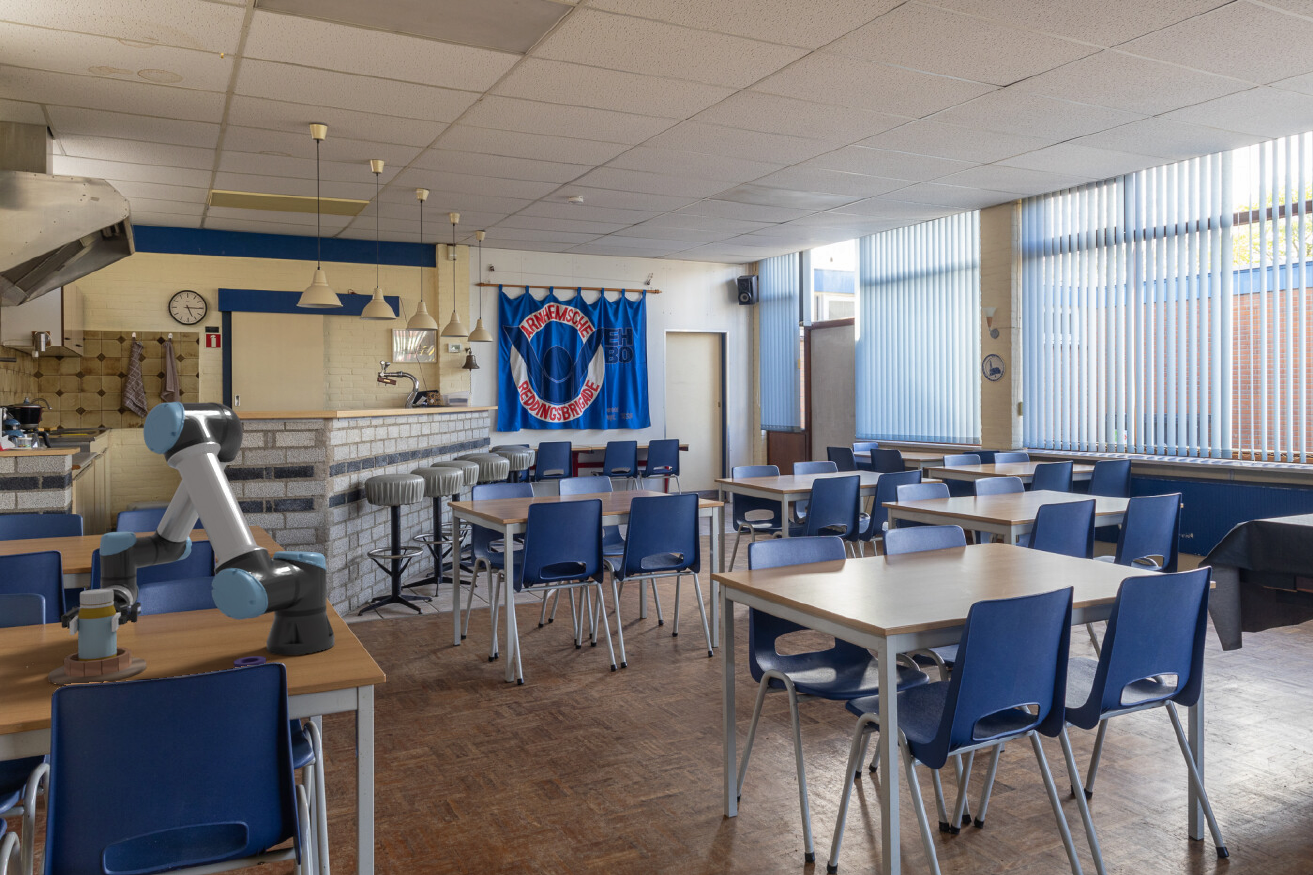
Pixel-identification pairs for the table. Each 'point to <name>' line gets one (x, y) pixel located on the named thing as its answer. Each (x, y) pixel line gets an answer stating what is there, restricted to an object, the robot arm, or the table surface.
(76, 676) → the bottle holder
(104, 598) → the bottle
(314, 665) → the table surface
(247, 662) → the lever
